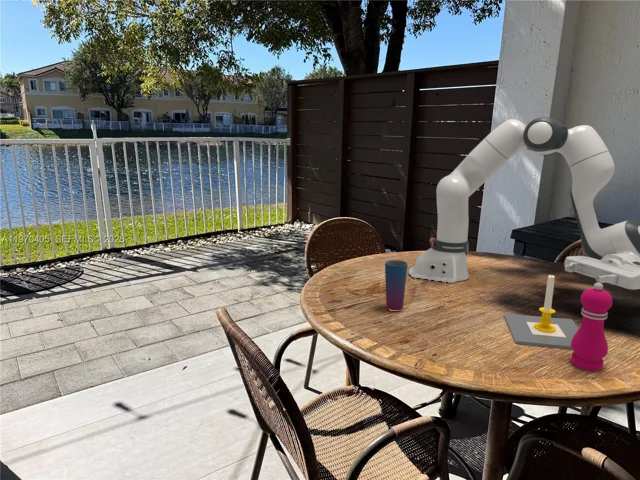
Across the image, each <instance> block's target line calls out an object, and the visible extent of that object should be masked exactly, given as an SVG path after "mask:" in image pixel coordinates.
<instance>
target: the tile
mask: <svg viewBox="0 0 640 480" xmlns="http://www.w3.org/2000/svg"><path fill="white" fill-rule="evenodd" d="M503 317H504V319H505V322H506V325H507V327H508V328H509V331H510V333H511V337H512V338H513V341H514V343H515V344H516V345H524V346H533V347H534V346H535V347H542V348H543V347H545V348H555V349H565V350H572V351H573V349H572V348H571V341H572V338H573V336H574V335H575V333H576V332H577V331H578V329H579V328H580V327H578V326H577V324H576V323H575V321H574V320H573V319H570V318H559V317H551V320H552V321H553V322H552V324H550V325H552V326H554V327H555V328H556V331H555V332H552V333H546V332H542V331H539V330H537V329H535V327H534V325H535V324H536V323H541V322H540V321H539V319H540V318H542V316H538V315H525V314H514V313H513V314H512V313H504V314H503Z"/></svg>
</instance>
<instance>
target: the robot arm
mask: <svg viewBox="0 0 640 480" xmlns="http://www.w3.org/2000/svg"><path fill="white" fill-rule="evenodd" d="M523 149H526V150H528V151H530V152H532V153H533V154H536V155H539V156H544V157H545V156H553V155H555V154H556V153H559V154H561V155H562V157H564V159H565V161H566V163H567V165H568V167H569V169H570V172H571V176H572V186H571V187H570V189H569V195H570V196H569V197H570V201H571V204H572V208H573V211H574V212H573V213H574V216H575V220H576V223H577V226H578V227H577V228H578V230H579V234H580V240H581V241H580V242H581V248H582V252H583V253H584V254H585V255H584V256H583V255H572V256H570V255H569V256H566V257H565V260H564V271H565V272H567V273H574V272H576V273H578V274H581V275H583V276H587V277H591V278H593V279H595V281H596V283H601V284H604V283H606V284H607V283H608V284H609V285H613V286H614V285H615V286H618V287H621V288H624V289H626V290H634V291H635V290H640V221H639V220H635V219H628V220H625V221H621V222H619V223H614V224H613V225H609V226H607V227H603V228H601V227H600V226H599V222H598V218H597V214H596V211H595V209H594V200H595V197H596V196H597V195H598V193H599V192H600V191H601V190H602V189H603V188H604V187H605V186H606V185H607V184H608V183H609V182H610V181H611V179H612V177H613V176H614V173H615V168H616V167H615V166H616V165H615V161H614V159H613V157H612V154H611V153H610V151H609V149H608V147H607V145H606V144H605V142H604V140H603V139H602V137H601V136H600V135H599V133H598V132H597V130H595V128H594V127H592V126H591V125H587V124H584V125H583V124H581V125H578V126H577V125H576V126H574V127H572V128H568V127H567V126H566V125H564V124H562V123H561V122H559V121H557V120H556V119H553V118H551V117H547V116H542V117H537V118H534V119H532V120H531V121H530V122H529V123H527V124H525V123H523V122H522V121H521V120H518V119H515V118H512V119H511V118H510V119H507V120H505V121H504V122H502V123H501V124H500V125H498V126H497V127H496V128H494V129H493V130H492V131H491V132H489V134H487V136H485V137H484V138H483V139H482V140H481V141H480V142H479V144H477V145H476V146H475V147H474V148H473V149H472V150H471V151H470V152H469V153H468V154H467V155H466V157H464V159H463V160H462V161H461V162H460V163H459V164H458V166H456V167H455V168H454V170H453V171H452V172H451V173H450V174H448V175H446V176H444V177H442V178H441V179H440V180H439V182H438V183H437V185H436V186H437V187H436V188H435V189H436V192H435V193H436V209H437V211H436V212H437V229H436V238H435V237H430V239H429V243H430V248H429V249H427V250H425V251H424V252H422V253H421V254H419V255H418V256H417V257H416V260H415V263H414V265H413V266H411V267H410V268H409V270H408V275H409V274H410V275H411V276H413V277H417V278H422V279H421V280H423V279H428V280H427V281H431V280H434V281H433V282H438V281H442V282H441V283H446V282H448V284H454V283H457V282H461V281H465V280H467V279H469V278H470V275H469V270H468V262H467V261H468V260H467V259H468V258H467V257H468V253H469V240H468V234H469V222H470V221H469V219H470V218H469V199H470V198H469V197H471V196H472V195H473V194H474V193H475V192H476V191H477V190H478V189H479V188H480V187H481V186H482V185H483V184H485V183H486V182H487V180H488V179H489V178H491V177H492V176H493V175H494V174H495V173H496V172H498V170H500V168H501V167H503V166H504V164H506V163H507V162H508V161H509V160H511V158H512V157H513V156H515V154H517V153H518V152H520V151H521V150H523Z"/></svg>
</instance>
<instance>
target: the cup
mask: <svg viewBox="0 0 640 480" xmlns="http://www.w3.org/2000/svg"><path fill="white" fill-rule="evenodd" d="M407 273H408V262H407V261H405V260H402V259H387V260H385V261H384V276H385V278H384V279H385V306H386V307H387V308H388V309H391V310H401V309H403V310H404V303H405V302H404V301H405V293H406V291H405V290H406V283H407V282H406V281H407Z"/></svg>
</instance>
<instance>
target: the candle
mask: <svg viewBox="0 0 640 480" xmlns="http://www.w3.org/2000/svg"><path fill="white" fill-rule="evenodd" d="M555 278H556V277H555V275H553V274H549V275H548V276H547V280H546V281H547V282H546V290H545V296H544V297H545V298H544V303H543V307H539V309H538V310H539V311H540V312H541V317H542V318H540V319H539V321H540V322H541V323H536V324H535V325H534V327H535V329H537V330H539V331H542V332H546V333H552V332H555V331H556V328H555V327H554V326H552V325H550V324H552V322H553V321H552V320H551V318H552V314H555V313H556V310H555V309H553V308H552V304H553V296H554V287H555Z"/></svg>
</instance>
